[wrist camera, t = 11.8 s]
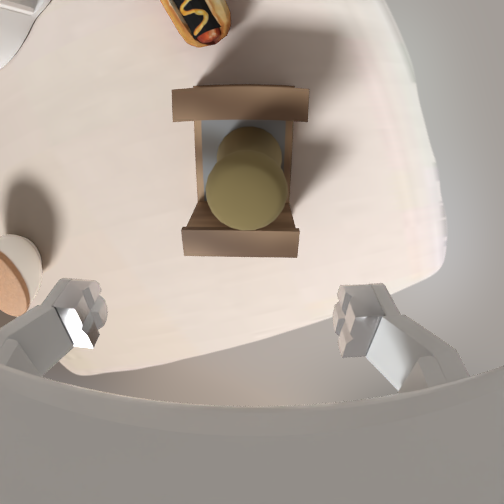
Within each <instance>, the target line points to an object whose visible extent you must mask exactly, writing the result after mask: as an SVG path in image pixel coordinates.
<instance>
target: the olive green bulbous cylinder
mask: <svg viewBox="0 0 504 504" xmlns="http://www.w3.org/2000/svg"><path fill="white" fill-rule="evenodd" d="M281 163H282V152H281V149H280V146H279V143H278V142H277V141H276V139H275V138H274V137H273V136H272V135H271V134H270V133H268V132H267V131H265V130H264V129H261V128H257V127H253V126H251V127H241V128H238V129H236V130H233V131H231V132H230V133H229V134H228V135H226V136H225V137H224V139H223V140H222V142H221V143H220V145H219V148H218V152H217V163H216V164H215V166H214V167H213V169H212V170H211V172H210V174H209V175H208V179H207V183H206V188H205V189H206V198H207V203H208V205H209V207H210V209H211V211H212V213H213V214H214V215H215V216H216V217H217V219H218V220H219V221H220V222H222V223H224V224H225V225H227V226H229V227H231V228H234V229H238V230H256V229H259V228H262V227H265V226H267V225H268V224H270V223H271V222H273V221H274V220H275V219H276V218H277V217H278V215H279V214H280V213H281V212H282V210H283V208H284V205H285V202H286V199H287V196H288V190H287V181H286V179H285V176H284V173H283V170H282V169H281Z"/></svg>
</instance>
